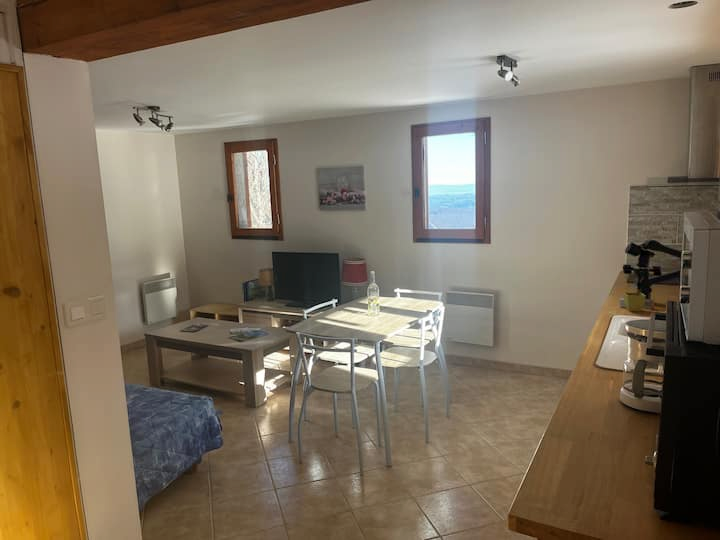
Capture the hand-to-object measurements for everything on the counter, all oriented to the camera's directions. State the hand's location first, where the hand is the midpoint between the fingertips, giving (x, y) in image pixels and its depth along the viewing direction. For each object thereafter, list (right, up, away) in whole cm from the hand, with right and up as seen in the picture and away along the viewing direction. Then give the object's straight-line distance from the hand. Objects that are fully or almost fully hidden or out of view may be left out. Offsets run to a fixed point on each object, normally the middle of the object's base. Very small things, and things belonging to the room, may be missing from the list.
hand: (639, 282), depth 291 cm
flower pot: (-7, -15, -7) cm, 18 cm away
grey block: (-7, -14, +2) cm, 16 cm away
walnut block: (+3, -14, -3) cm, 15 cm away
